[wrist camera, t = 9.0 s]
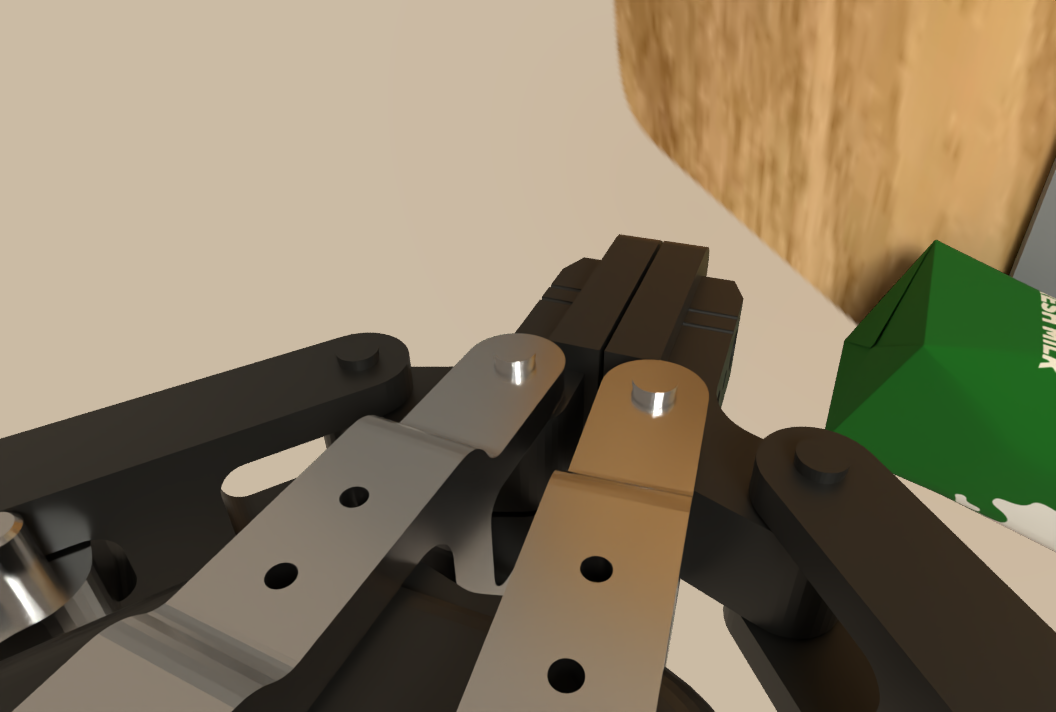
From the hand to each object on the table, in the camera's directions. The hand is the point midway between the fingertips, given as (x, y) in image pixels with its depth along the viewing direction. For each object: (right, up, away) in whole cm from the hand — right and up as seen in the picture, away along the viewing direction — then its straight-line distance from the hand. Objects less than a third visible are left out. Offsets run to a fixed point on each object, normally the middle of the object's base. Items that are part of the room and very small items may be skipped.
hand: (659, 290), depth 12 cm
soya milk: (+13, 0, +19) cm, 23 cm away
